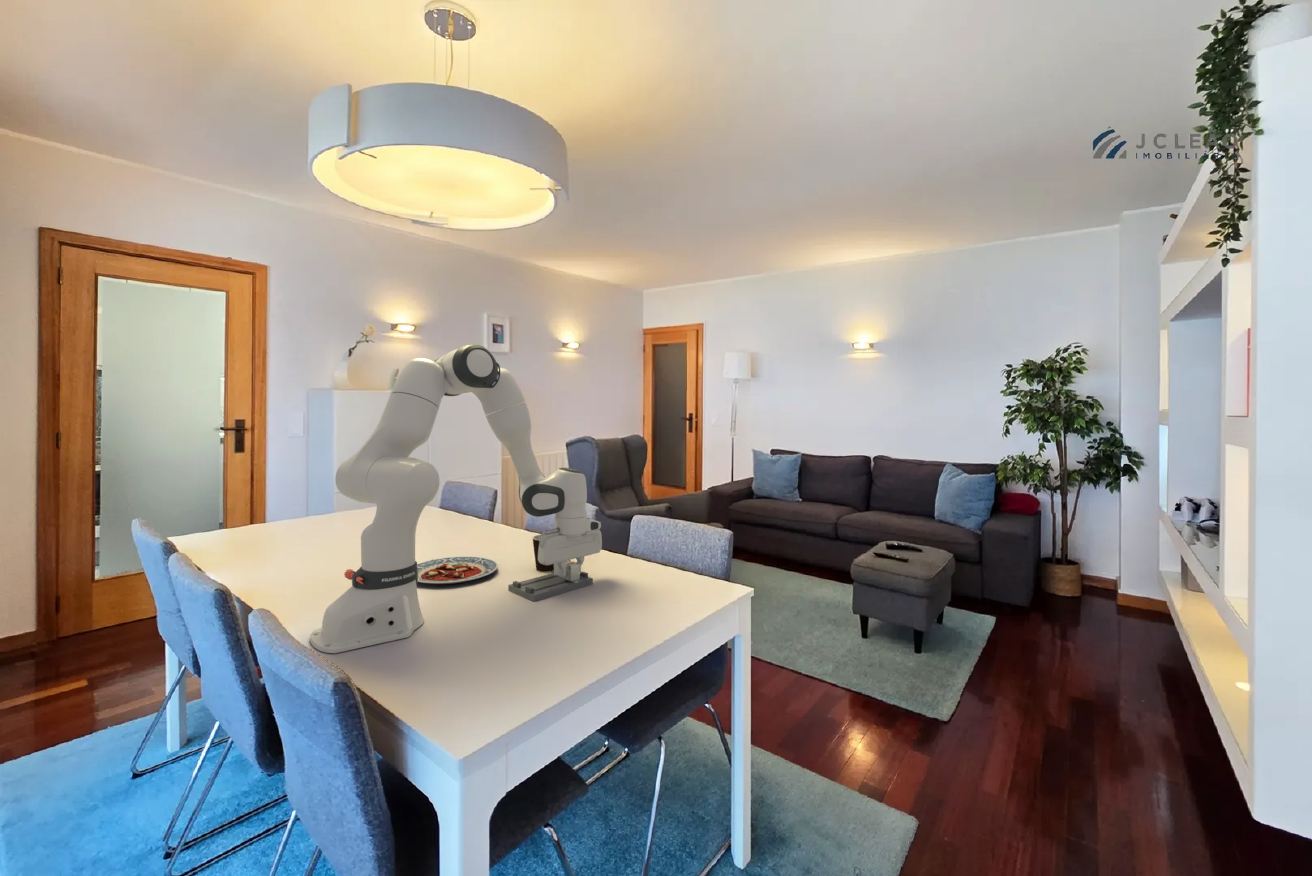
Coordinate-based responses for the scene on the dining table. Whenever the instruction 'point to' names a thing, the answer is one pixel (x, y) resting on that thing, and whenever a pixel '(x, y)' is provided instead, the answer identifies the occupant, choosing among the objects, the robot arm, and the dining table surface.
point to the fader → (572, 571)
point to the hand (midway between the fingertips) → (570, 574)
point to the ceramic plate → (454, 570)
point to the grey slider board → (548, 585)
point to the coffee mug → (539, 566)
